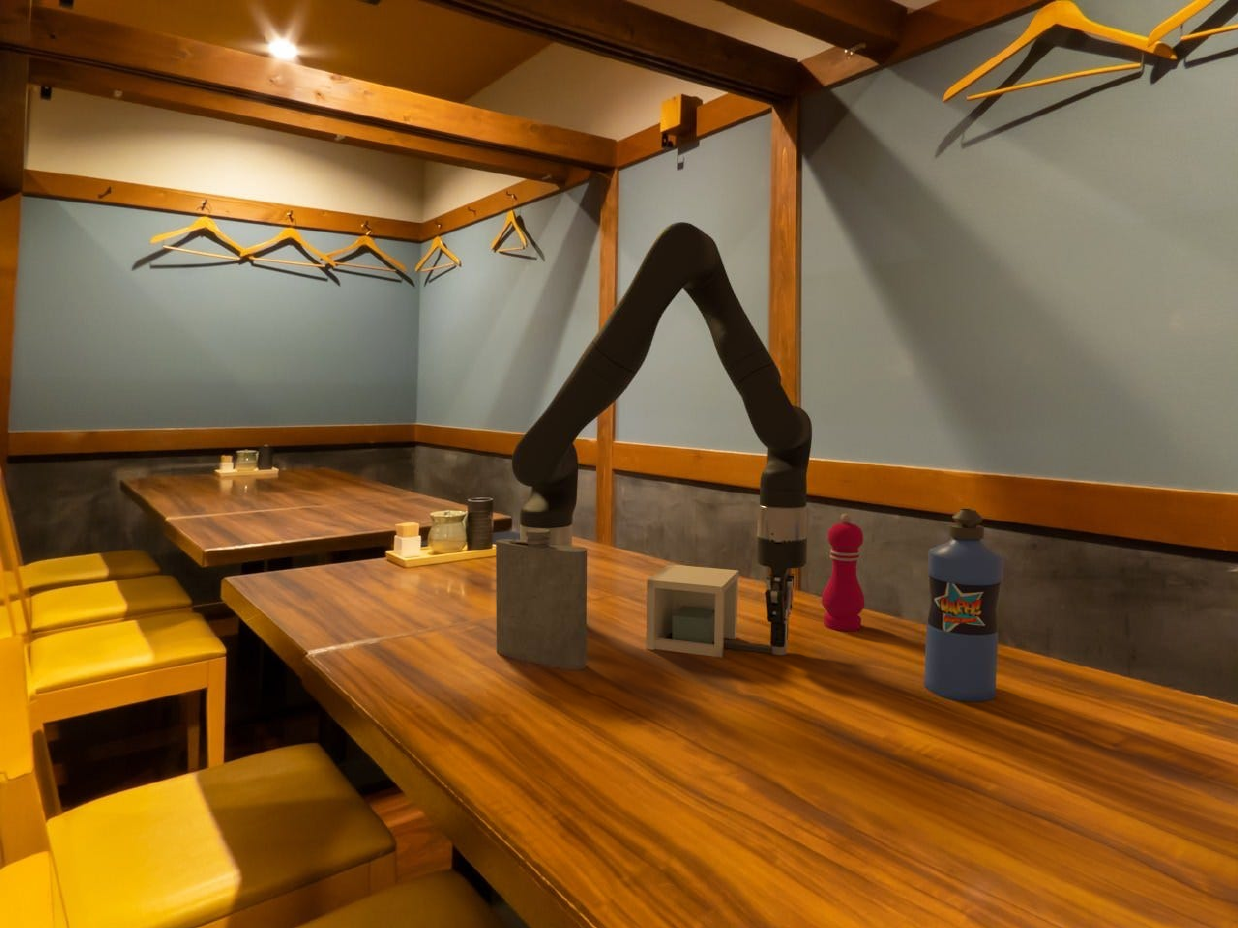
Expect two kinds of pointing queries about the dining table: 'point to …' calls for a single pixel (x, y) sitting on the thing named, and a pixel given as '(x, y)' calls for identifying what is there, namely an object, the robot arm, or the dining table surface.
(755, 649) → the grey block with handle
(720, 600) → the shelf
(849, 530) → the pepper mill
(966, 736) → the dining table surface
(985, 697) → the water bottle
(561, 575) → the hip flask
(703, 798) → the dining table surface
